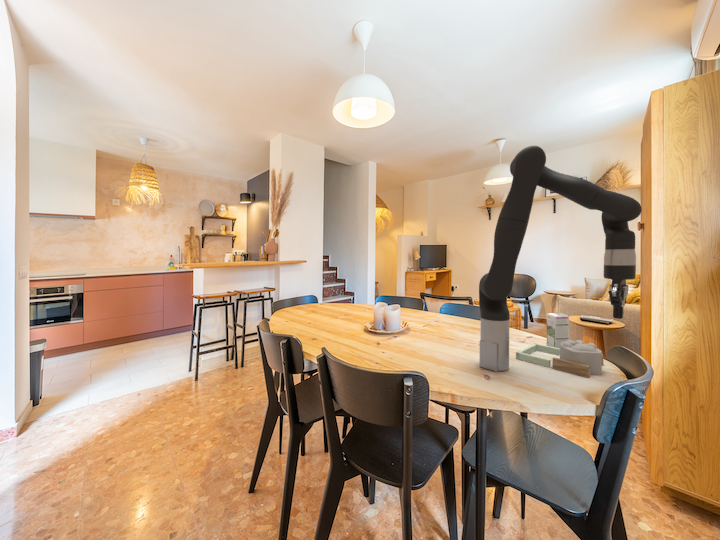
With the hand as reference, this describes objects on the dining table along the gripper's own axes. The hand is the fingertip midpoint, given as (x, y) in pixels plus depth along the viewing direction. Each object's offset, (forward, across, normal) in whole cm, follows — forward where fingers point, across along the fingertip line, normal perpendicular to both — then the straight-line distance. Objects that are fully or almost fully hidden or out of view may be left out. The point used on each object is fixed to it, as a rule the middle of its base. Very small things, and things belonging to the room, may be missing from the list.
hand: (618, 318), depth 91 cm
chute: (+19, 0, +10) cm, 21 cm away
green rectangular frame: (+19, 0, +22) cm, 29 cm away
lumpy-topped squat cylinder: (+19, 0, +10) cm, 22 cm away
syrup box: (+19, +16, +22) cm, 33 cm away
